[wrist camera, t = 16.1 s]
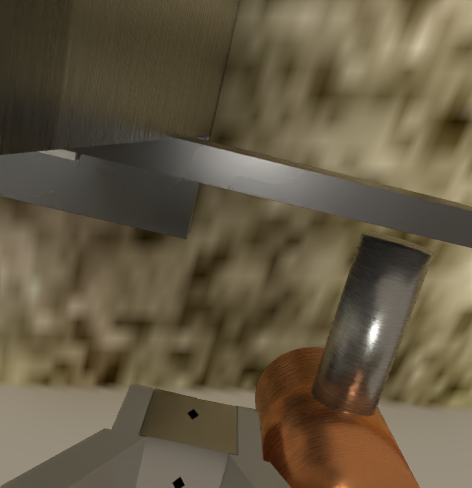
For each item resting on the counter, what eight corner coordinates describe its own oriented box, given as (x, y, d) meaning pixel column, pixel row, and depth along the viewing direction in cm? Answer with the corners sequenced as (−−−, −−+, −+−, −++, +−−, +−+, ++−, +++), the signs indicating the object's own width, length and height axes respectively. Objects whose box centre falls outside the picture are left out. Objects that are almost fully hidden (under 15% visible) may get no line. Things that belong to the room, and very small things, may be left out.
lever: (243, 432, 12) (247, 575, 8) (307, 208, 10) (350, 253, 6) (346, 453, 12) (398, 603, 8) (424, 236, 11) (535, 295, 7)
